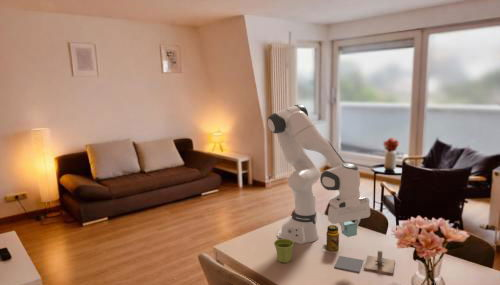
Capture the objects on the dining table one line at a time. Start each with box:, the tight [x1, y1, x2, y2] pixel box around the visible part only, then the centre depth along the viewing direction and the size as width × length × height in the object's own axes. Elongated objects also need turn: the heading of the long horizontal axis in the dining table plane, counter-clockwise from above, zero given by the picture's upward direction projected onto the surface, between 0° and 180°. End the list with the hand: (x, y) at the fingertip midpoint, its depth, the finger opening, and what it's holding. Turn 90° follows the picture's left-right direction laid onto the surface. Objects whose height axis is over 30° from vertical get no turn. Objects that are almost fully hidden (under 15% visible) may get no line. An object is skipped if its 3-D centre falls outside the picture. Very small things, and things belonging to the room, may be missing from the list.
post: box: [363, 250, 396, 276], centre depth 159 cm, size 12×12×7 cm
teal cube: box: [341, 221, 358, 238], centre depth 159 cm, size 5×5×5 cm
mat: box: [333, 255, 364, 274], centre depth 161 cm, size 11×11×1 cm
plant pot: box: [273, 238, 295, 264], centre depth 167 cm, size 9×9×9 cm
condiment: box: [321, 224, 341, 254], centre depth 176 cm, size 7×8×12 cm
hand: (349, 229), depth 158 cm, fingers closed on teal cube, 5 cm apart
